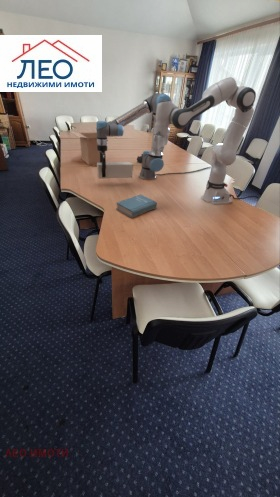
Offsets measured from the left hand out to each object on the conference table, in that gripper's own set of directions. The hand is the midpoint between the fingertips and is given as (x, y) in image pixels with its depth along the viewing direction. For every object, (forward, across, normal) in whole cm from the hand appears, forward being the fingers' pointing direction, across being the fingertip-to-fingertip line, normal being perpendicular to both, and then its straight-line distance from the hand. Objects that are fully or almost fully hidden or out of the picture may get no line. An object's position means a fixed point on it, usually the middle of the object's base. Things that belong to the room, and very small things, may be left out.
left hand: (103, 175), depth 178 cm
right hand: (-25, -34, -32) cm, 53 cm away
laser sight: (+8, +59, -58) cm, 83 cm away
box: (+8, +71, -1) cm, 71 cm away
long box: (+1, 0, -10) cm, 10 cm away
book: (+8, -47, -15) cm, 50 cm away
